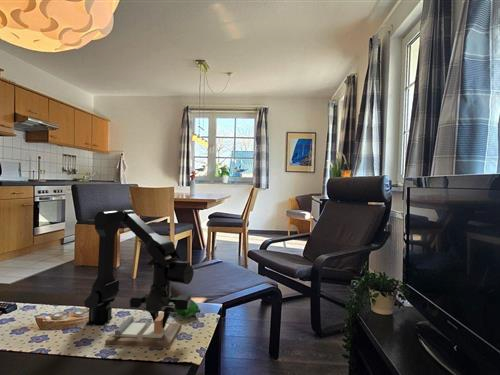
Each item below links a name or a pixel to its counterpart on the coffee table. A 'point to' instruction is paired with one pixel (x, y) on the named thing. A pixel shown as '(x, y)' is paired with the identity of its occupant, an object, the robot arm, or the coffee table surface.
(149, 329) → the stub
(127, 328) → the white tray
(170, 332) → the board
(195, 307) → the snack package
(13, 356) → the coffee table surface
